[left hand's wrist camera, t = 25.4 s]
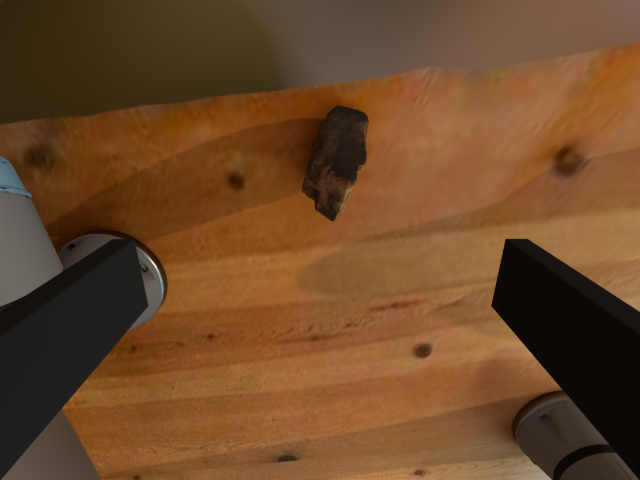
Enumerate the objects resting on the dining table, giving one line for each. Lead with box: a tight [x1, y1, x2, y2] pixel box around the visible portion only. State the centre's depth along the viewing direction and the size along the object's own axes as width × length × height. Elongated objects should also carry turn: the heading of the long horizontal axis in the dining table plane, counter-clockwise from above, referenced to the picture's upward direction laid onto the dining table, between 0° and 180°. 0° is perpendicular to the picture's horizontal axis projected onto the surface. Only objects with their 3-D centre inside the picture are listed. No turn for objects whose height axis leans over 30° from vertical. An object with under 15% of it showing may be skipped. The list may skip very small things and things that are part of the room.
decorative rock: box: [302, 106, 369, 222], centre depth 39 cm, size 12×6×11 cm, turn 158°
